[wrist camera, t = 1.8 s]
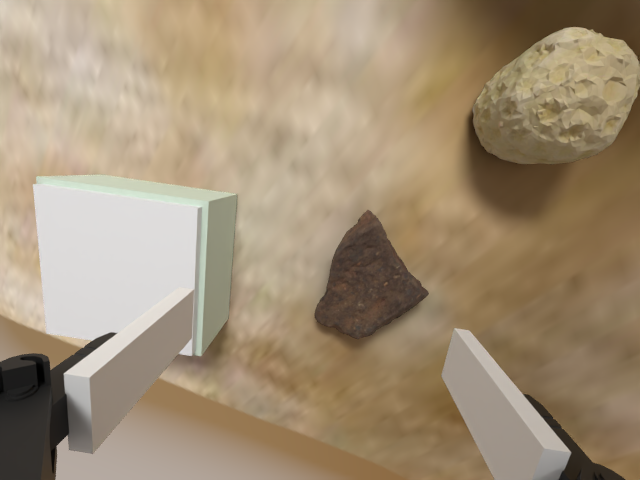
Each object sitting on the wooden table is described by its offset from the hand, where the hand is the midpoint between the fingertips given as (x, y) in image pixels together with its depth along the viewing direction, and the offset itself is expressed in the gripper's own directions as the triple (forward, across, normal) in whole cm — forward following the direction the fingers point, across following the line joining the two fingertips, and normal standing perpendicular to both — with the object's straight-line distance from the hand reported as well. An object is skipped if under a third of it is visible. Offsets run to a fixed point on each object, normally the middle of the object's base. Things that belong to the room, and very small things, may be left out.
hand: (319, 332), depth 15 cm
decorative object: (+17, +13, +14) cm, 26 cm away
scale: (+17, -17, -3) cm, 24 cm away
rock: (+17, 0, +1) cm, 17 cm away
